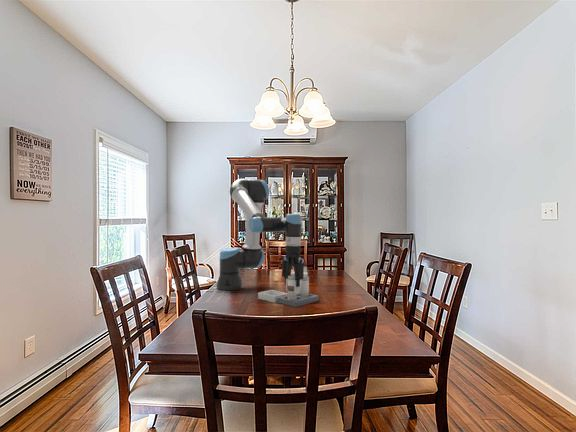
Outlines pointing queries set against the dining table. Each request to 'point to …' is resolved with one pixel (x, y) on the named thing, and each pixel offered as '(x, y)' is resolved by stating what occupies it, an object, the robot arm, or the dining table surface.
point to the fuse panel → (298, 300)
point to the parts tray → (271, 295)
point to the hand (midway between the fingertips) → (292, 292)
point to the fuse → (304, 286)
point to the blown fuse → (291, 288)
